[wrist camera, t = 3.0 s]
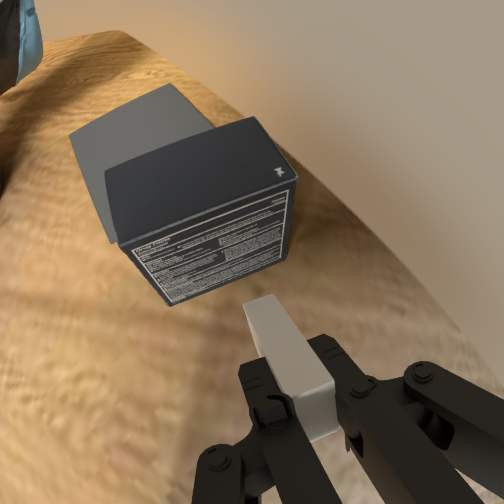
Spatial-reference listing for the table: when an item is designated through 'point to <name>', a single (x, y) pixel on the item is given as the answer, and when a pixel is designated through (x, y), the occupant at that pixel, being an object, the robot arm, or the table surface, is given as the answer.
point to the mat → (131, 139)
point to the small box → (204, 209)
